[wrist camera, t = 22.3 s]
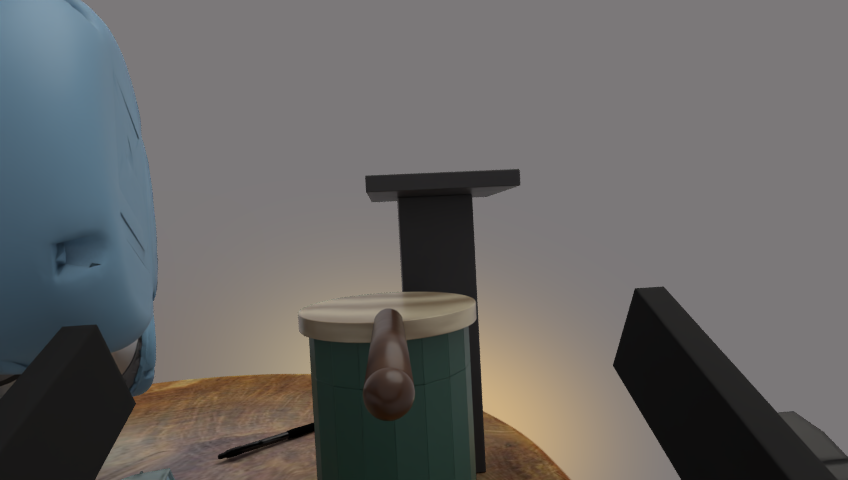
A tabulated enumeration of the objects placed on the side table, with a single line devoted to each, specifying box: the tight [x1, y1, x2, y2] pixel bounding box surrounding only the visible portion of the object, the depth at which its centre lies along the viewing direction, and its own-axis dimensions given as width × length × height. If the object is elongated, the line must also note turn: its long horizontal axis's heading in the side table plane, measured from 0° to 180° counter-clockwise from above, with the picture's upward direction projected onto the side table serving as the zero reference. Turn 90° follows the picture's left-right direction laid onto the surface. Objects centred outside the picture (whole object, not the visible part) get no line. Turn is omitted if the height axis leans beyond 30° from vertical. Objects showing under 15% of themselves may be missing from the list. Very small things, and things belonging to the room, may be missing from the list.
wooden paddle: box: [298, 292, 477, 421], centre depth 27 cm, size 24×13×2 cm, turn 5°
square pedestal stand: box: [365, 169, 520, 473], centre depth 49 cm, size 14×14×32 cm
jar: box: [309, 326, 476, 480], centre depth 33 cm, size 11×11×20 cm
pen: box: [218, 423, 315, 459], centre depth 60 cm, size 14×2×1 cm
